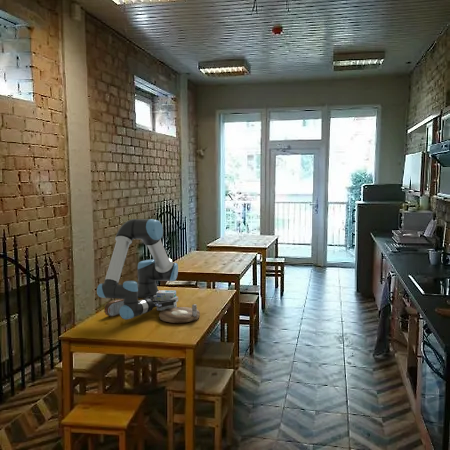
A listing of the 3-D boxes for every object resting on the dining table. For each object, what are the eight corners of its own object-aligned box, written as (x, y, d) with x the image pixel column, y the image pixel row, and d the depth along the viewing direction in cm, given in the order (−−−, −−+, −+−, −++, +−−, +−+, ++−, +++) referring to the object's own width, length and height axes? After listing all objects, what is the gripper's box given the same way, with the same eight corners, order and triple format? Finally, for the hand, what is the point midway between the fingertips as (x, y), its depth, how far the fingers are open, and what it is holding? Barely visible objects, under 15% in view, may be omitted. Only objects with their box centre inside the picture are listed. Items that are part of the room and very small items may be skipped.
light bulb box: (176, 307, 269) (176, 290, 268) (174, 311, 263) (174, 292, 262) (159, 307, 270) (158, 289, 269) (156, 310, 264) (155, 292, 263)
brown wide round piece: (176, 308, 265) (176, 294, 264) (208, 314, 253) (208, 300, 252) (150, 318, 247) (150, 303, 246) (183, 325, 234) (183, 310, 233)
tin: (125, 311, 264) (125, 296, 263) (129, 312, 262) (129, 297, 261) (104, 317, 252) (103, 302, 251) (107, 318, 250) (107, 303, 249)
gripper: (128, 309, 257) (154, 300, 275) (160, 316, 244) (185, 306, 262) (127, 296, 256) (153, 288, 274) (160, 302, 243) (185, 293, 261)
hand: (169, 297), depth 268 cm, fingers closed on light bulb box, 12 cm apart
